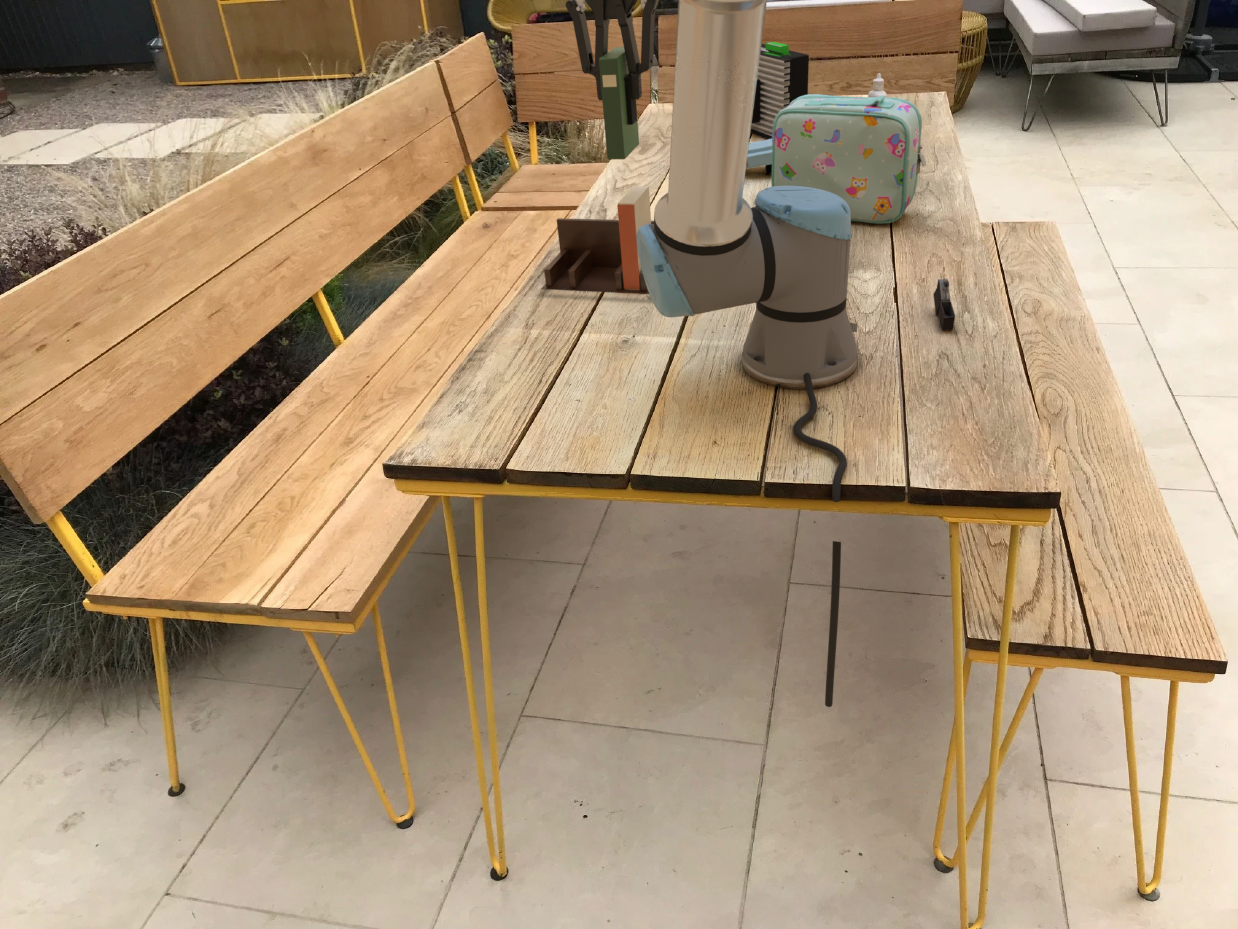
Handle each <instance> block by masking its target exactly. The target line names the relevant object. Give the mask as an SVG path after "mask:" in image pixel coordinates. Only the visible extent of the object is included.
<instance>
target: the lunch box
mask: <svg viewBox="0 0 1238 929" xmlns="http://www.w3.org/2000/svg"><path fill="white" fill-rule="evenodd" d="M922 127H923V119H922V115H921V112H920V111H919V108H918V107H917V106H916V105H915V104H914V103H912V102H911V101H910V100H908V99H903V98H900V97H890V96H887V97H884V96H883V95H881V96H879V97H868V96H866V97H865V96H845V95H844V96H843V95H830V94H820V93H819V94H818V93H808V95H804V96H801V97H798V98H796V99H795V100H793V101H792V102H791V103H790V104H789V106H788V107H786V108H784V109H783V110H781V111H780V112H779V113H778V114H777V115H776V117H775V119H774V123H773V130H772V174H771V187H774V186H802V187H810V188H816V189H820V190H824V191H828V192H831V193H833V194H835V195H837V196H839V197H841V198H842V199H843V200H845V201H846V203H847V204H848V206H849V208H850V213H851V222H861V223H869V224H891V223H894V222H896V221H898V220H899V219H901V217H902V216H903V215H904V213H905V212H906V209H907V208H908V206H910V204H911V203H912V201H913V199H914V196H915V194H916V190H917V186H918V178H919V174H920V173H921V166H922V167H926V165H927V164H926V159H925V155H924V151H921V150H922V149H923V146H922V144H921V139H922Z"/></svg>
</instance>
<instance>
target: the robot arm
mask: <svg viewBox="0 0 1238 929" xmlns="http://www.w3.org/2000/svg"><path fill="white" fill-rule="evenodd" d="M637 2H638V0H567V1H566V2H565V8H566V10H567V12H568V13H569V14H568V15H570V17H571V19H572V24H573V29H574V30H573V31H574V35H575V39H576V46H577V50H578V51H577V52H578V56H579V61H580V66H581V70H582V73H583V74H585V75H586V74H588V75H590V76H593V77H594V78H595V86H596V96H597V100H598V101H602V91H601V79H600V68H599V58H601V57H602V56H604V55H605V54H607V53H608V52H609V29H610V28H609V26H610V22H611V19H616V20H617V23H618V26H619V28H620V35H621V40H622V44H623V47H624V50H625V55H626V60H627V65H628V71H629V74H628V75H627V76H626V77H625V78H624V81H625V94H626V108H627V121H628V125H633V124H634V123H635V122H636V121H637V120H638V108H636V105H637V100H640V99H641V98H642V95H643V87H642V74H643V73H646V72H648V71H649V70H650V69H652V68H653V66H654V46H655V24H656V23H655V19H656V10H657V8H658V5H659V2H660V0H640V8H642V14H641V15H642V17H641V42H640V43H641V46H640V54H639V50H638V45H637V44H638V43H637V39H636V33H635V28H634V18H633V12H632V11H633V9H634V7H635V5H636V3H637ZM677 2H678V4H677V20H676V21H677V22H676V38H675V39H676V40H675V57H674V58H675V59H674V75H673V76H674V78H673V98H672V114H671V131H670V132H671V134H670V151H669V152H670V154H669V155H670V156H669V170H668V191H667V192H666V193H665V194H664V195H662V196H661V197H660V198H659V200H658V201H657V202H656V204H655V206H654V210H653V212H654V213H653V221H654V224H645V225H644V226H641V227H640V228H639V229H638V231H637V249H638V255H639V260H640V264H641V268H642V272H643V276H644V279H645V283H646V286H647V289H648V292H649V294H648V295H649V297H650V299H651V301H652V303H653V305H654V307H655V309H656V310H657V312H658V313H659V314H660V315H662V316H663V317H665V318H680V317H695V316H696V315H700V314H705V313H711V312H715V311H721V310H725V309H731V308H736V307H740V306H746V305H753V304H755V312H754V314H753V317H752V321H751V323H750V326H749V329H748V332H747V335H746V338H745V341H744V342H743V343H744V344H743V347H742V353H741V354H742V355H741V356H742V357H741V358H742V360H741V361H742V367H743V369H744V371H745V372H746V373H747V375H749V376H750V377H752V378H753V379H755V380H756V381H758V382H760V383H763V384H765V385H769V386H773V387H778V388H784V389H794V390H795V389H796V390H798V389H800V390H802V389H803V390H804V389H805V391H806V395H807V399H808V403H809V409H808V411H806V413H805V414H803V415H802V416H801V417H800V418H798V419H797V421H795V422H794V424H793V426H792V432H793V435H794V437H796V438H797V439H798V440H799V441H800V442H802V443H804V444H806V445H809V446H811V447H815V448H818V449H820V450H824V451H826V452H828V453H830V454H832V455H833V456H835V458H836V459H837V461H838V465H837V467H836V469H835V472H834V474H833V478H832V483H831V485H832V486H831V501H832V502H834V503H839V502H841V489H842V480H843V476H844V474H845V472H846V470H847V466H848V461H847V460H848V459H847V457H846V455H845V453H844V452H843V451H842V450H841V449H840V448H839V447H837V446H836V445H834V444H832V443H829V442H827V441H824V440H820V439H818V438H814V437H812V436H809V435H807V434H805V433H803V431H802V427H803V426H805V425H806V424H807V423H808V422H810V421H811V419H813V418H814V416H815V415H816V413H817V410H818V402H817V401H818V400H817V398H816V394H815V391H814V389H817V388H823V387H826V386H831V385H834V384H837V383H839V382H842V381H843V380H845V379H847V378H848V377H850V376H851V375H852V374H853V373H854V372H855V370H856V368H857V366H858V354H859V353H858V346H857V343H856V339H855V335H854V333H858V323H855V322H850V319H849V316H848V312H847V299H848V298H847V297H848V284H849V269H850V254H851V252H850V251H851V239H852V238H853V233H852V221H851V213H850V208H849V206H848V204H847V203H846V201H845V200H843V199H842V198H841V197H839V196H837V195H835V194H833V193H831V192H828V191H824V190H820V189H816V188H810V187H802V186H774V187H772V186H768V187H765V188H764V189H761V190H759V191H758V192H757V194H756V196H755V198H754V200H753V202H754V206H753V207H751V205H750V204H749V202H748V201H747V200H746V199H745V198H744V197H743V196H744V187H745V179H746V173H747V172H746V171H747V169H746V164H747V156H748V148H749V143H750V141H751V140H750V139H751V133H750V132H751V124H752V116H753V108H754V100H755V92H756V84H757V76H758V68H759V60H760V52H761V44H763V43H762V42H763V35H764V27H765V26H764V25H765V18H766V12H767V11H766V10H767V3H768V0H677ZM586 4H587V6H588V8H590V9H591V11H592V13H593V14H594V26H595V37H594V38H595V42H594V53H593V49H592V42H591V37H590V32H589V27H588V21H587V17H586V14H585V11H586ZM593 54H594V55H593ZM831 550H832V554H831V556H832V557H831V590H830V610H829V611H830V612H829V630H828V646H827V647H828V648H827V660H826V661H827V662H826V677H825V678H826V679H825V696H824V705H825V707H827V708H831V707H832V706H833V704H834V703H833V702H834V700H833V699H834V687H835V684H834V683H835V670H836V669H835V668H836V654H837V641H838V627H839V626H838V624H839V611H840V608H839V607H840V592H841V591H840V590H841V588H840V587H841V564H842V563H841V562H842V560H841V559H842V541H836V540H832V549H831Z"/></svg>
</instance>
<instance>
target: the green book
mask: <svg viewBox="0 0 1238 929" xmlns="http://www.w3.org/2000/svg"><path fill="white" fill-rule="evenodd" d="M599 68H600V79H601V91H602V100H601V102H602V112H603V124H604V135H605V146H606V147H605V148H606V158H607V160H608V161H609V160H626V159H627V158H628V157H629V156H630V155H631V153H633V151H634V150H635V149H636V148H637V147H638V146H639V145H640V137H639V136H640V135H639V123H638V122H639V120H638V119H637V121H636V122H635V123H634V124H633V125H628V121H627V108H626V94H625V81H624V78H625V77H626V76H627V75H628V74H629V71H628V65H627V60H626V55H625V50H624V46H620V47H619V46H617V47H614V48H612V49H611V50H609V51H608V53H607V54H605V55H604V56H602V57H601V58H599ZM637 107H638V106H637V104H636V108H637ZM637 109H638V108H637Z"/></svg>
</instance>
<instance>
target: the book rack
mask: <svg viewBox="0 0 1238 929" xmlns="http://www.w3.org/2000/svg"><path fill="white" fill-rule="evenodd" d="M651 224H654V220H651ZM556 228H557V235H558V244H559V245H558V246H559V253H557V255H556V256H555V257H554V258H553V259H552V260H551V261H550V262H549V264H547V266H546V267H545V268H544V269H543V273H544V281H545V284H544V285H543V286H542V287H541V288H540V290H548V291H549V290H550V291H551V290H553V291H569V292H571V291H572V292H592V293H594V292H595V293H614V294H635V295H650V294H649V292H648V289H647V286H646V283H645V279H644V276H643V272H641V273H640V277H641V290H625V289H624V282H623V270H622V257H621V245H620V232H619V220H618V219H604V218H603V219H598V218H597V219H596V218H564V217H563V218H562V217H561V218H559V217H558V218H556Z"/></svg>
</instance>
